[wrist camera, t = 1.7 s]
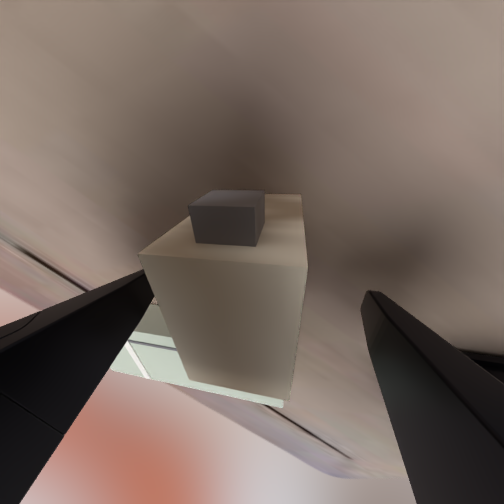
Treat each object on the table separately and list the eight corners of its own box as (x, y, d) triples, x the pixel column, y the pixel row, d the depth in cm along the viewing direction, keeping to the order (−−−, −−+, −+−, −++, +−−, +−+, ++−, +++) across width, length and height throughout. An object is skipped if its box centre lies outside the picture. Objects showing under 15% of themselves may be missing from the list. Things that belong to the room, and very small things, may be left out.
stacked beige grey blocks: (303, 170, 8) (314, 220, 3) (290, 301, 12) (287, 412, 7) (217, 172, 9) (121, 213, 4) (232, 295, 13) (194, 392, 8)
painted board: (289, 322, 13) (287, 359, 11) (284, 374, 17) (282, 409, 15) (102, 297, 16) (72, 322, 14) (131, 346, 20) (111, 371, 18)
